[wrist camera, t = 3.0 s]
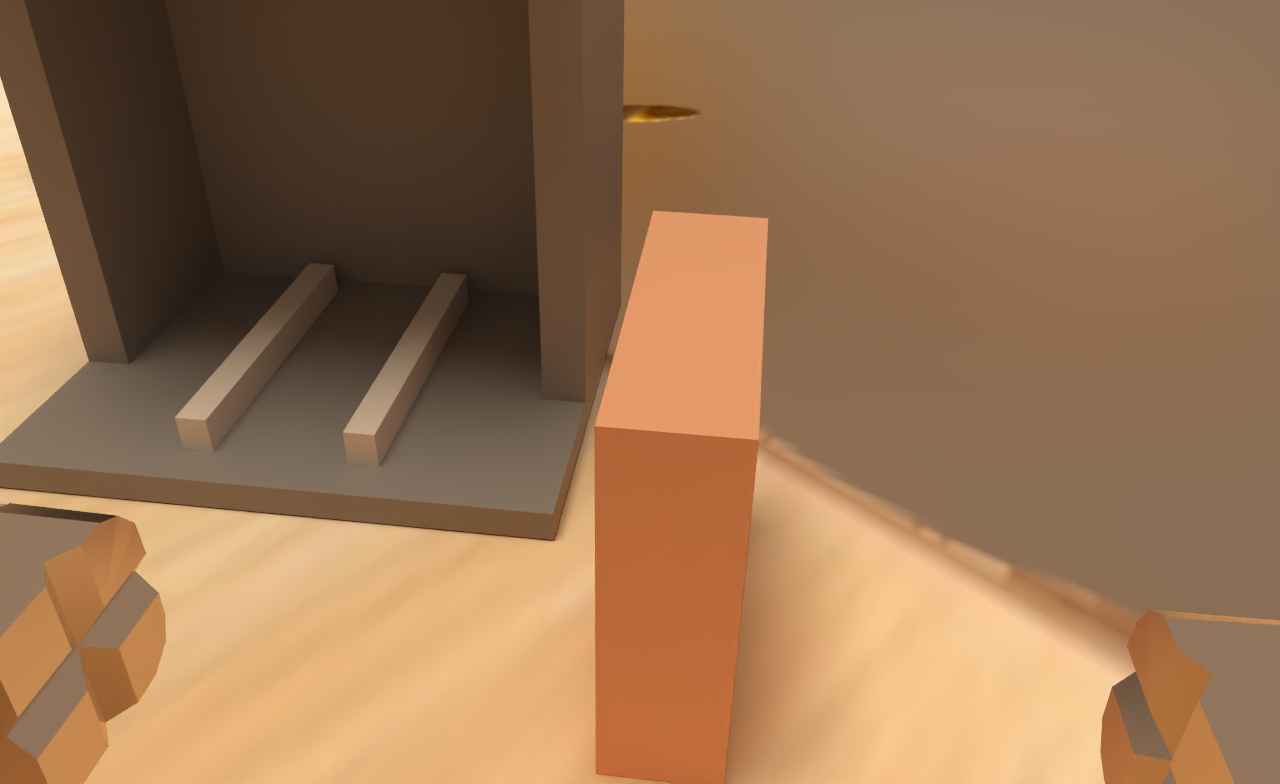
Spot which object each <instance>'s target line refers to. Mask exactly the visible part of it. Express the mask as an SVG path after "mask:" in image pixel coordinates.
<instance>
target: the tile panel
mask: <svg viewBox="0 0 1280 784" xmlns="http://www.w3.org/2000/svg"><path fill="white" fill-rule="evenodd" d="M767 231H768V219H767V218H753V217H738V216H724V215H708V214H694V213H693V214H692V213H678V212H664V211H653V215H652V218H651V222H650V226H649V229H648V233H647V236H646V240H645V244H644V248H643V251H642V255H641V258H640V262H639V266H638V269H637V273H636V277H635V280H634V284H633V288H632V291H631V295H630V299H629V302H628V306H627V310H626V313H625V317H624V321H623V325H622V328H621V332H620V335H619V339H618V343H617V346H616V350H615V353H614V357H613V361H612V364H611V368H610V372H609V375H608V379H607V383H606V386H605V390H604V394H603V397H602V401H601V405H600V408H599V412H598V416H597V419H596V423H595V652H596V774H599V775H608V776H617V777H625V778H634V779H643V780H651V781H660V782H669V783H677V784H724V778H725V769H726V759H727V749H728V739H729V729H730V719H731V709H732V699H733V689H734V680H735V670H736V660H737V650H738V640H739V630H740V620H741V610H742V600H743V590H744V581H745V571H746V561H747V551H748V541H749V531H750V521H751V511H752V501H753V492H754V482H755V472H756V462H757V452H758V442H759V421H760V397H761V373H762V350H763V326H764V302H765V278H766V255H767V253H766V252H767Z"/></svg>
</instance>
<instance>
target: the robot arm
mask: <svg viewBox="0 0 1280 784" xmlns="http://www.w3.org/2000/svg"><path fill="white" fill-rule="evenodd" d="M145 554H146V552H145V549H144V547H143V544H142V541H141V539H140V536H139V533H138V531H137V528H136V525H135V523H134V522H131V521H129V520H126V519H124V518H122V517H119V516H115V515H106V514H98V513H89V512H80V511H72V510H63V509H55V508H46V507H37V506H29V505H20V504H12V503H9V504H7V505H6V504H0V784H83V783H84V782H85V780H86V779H87V778H88V776H89V775H90V773H91V772H92V770H93V769H94V767H95V766H96V764H97V763H98V761H99V760H100V758H101V757H102V755H103V754H104V752H105V751H106V749H107V748H108V746H109V744H108V736H107V728H106V722H107V721H109V720H110V719H112V718H113V717H115V716H117V715H118V714H120V713H122V712H123V711H125V710H126V709H128V708H130V707H131V706H133V705H135V704H136V703H138V702H139V700H140V698H141V697H142V695H143V694H144V692H145V691H146V689H147V687H148V686H149V684H150V683H151V681H152V680H153V678H154V676H155V675H156V672H157V669H158V665H159V662H160V658H161V655H162V652H163V648H164V645H165V641H166V633H165V613H164V609H163V606H162V603H161V599H160V596H159V593H158V592H157V591H156V590H155V589H154V588H153V587H151V586H150V585H149V584H148V583H147V582H146V581H145V580H144V579H143V578H142V577H141V576H140V575H139V574H137V573H136V572H135V571H136V569H137V568H138V566H139V564H140V563H141V561H142V559H143V558H144V556H145ZM1127 647H1128V650H1129V653H1130V656H1131V659H1132V661H1133V664H1134V667H1135V670H1136V672H1134V673H1133V674H1131V675H1130V676H1128V677H1127V678H1125V679H1124V680H1122V681H1120V682H1119V683H1117V684H1116V685H1114V686H1113V687H1112V689H1111V692H1110V695H1109V699H1108V702H1107V705H1106V708H1105V711H1104V714H1103V718H1102V735H1101V759H1102V766H1103V774H1104V780H1105V784H1280V621H1277V620H1265V619H1253V618H1242V617H1241V618H1240V617H1230V616H1217V615H1205V614H1194V613H1182V612H1170V611H1157V610H1147V611H1146V612H1145V614H1144V615H1143V616H1142V617H1141V618H1140V619H1139V620H1138V621H1137V622H1136V625H1135V627H1134V630H1133V632H1132V635H1131V638H1130V640H1129V643H1128V645H1127Z"/></svg>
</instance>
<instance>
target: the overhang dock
mask: <svg viewBox="0 0 1280 784" xmlns="http://www.w3.org/2000/svg"><path fill="white" fill-rule="evenodd" d="M623 59H624V0H0V77H1V80H2V83H3V86H4V90H5V93H6V96H7V99H8V102H9V106H10V109H11V112H12V115H13V119H14V122H15V125H16V128H17V131H18V135H19V138H20V141H21V144H22V147H23V151H24V154H25V157H26V160H27V163H28V167H29V170H30V173H31V176H32V179H33V183H34V186H35V189H36V192H37V195H38V199H39V202H40V205H41V208H42V211H43V215H44V218H45V221H46V224H47V228H48V231H49V234H50V237H51V240H52V244H53V247H54V250H55V253H56V256H57V260H58V263H59V266H60V269H61V272H62V276H63V279H64V282H65V285H66V288H67V292H68V295H69V298H70V301H71V304H72V308H73V311H74V314H75V317H76V320H77V324H78V327H79V330H80V333H81V336H82V340H83V343H84V346H85V349H86V353H87V356H88V359H89V362H88V363H87V364H86V365H85V366H84V367H82V368H81V369H80V370H79V371H78V372H77V373H76V374H75V375H74V376H73V377H72V378H71V379H70V380H68V381H67V382H66V383H65V384H64V385H63V386H62V387H61V388H60V389H59V390H58V391H57V392H55V393H54V394H53V395H52V396H51V397H50V398H49V399H48V400H47V401H46V402H45V403H44V404H42V405H41V406H40V407H39V408H38V409H37V410H36V411H35V412H34V413H33V414H32V415H31V416H29V417H28V418H27V419H26V420H25V421H24V422H23V423H22V424H21V425H20V426H19V427H18V428H17V429H15V430H14V431H13V432H12V433H11V434H10V435H9V436H8V437H7V438H6V439H5V440H4V441H2V442H1V443H0V487H5V488H15V489H26V490H36V491H47V492H57V493H68V494H78V495H88V496H99V497H109V498H120V499H130V500H141V501H151V502H162V503H172V504H182V505H193V506H203V507H214V508H224V509H235V510H245V511H255V512H266V513H276V514H287V515H297V516H308V517H318V518H329V519H339V520H349V521H360V522H370V523H381V524H391V525H402V526H412V527H423V528H433V529H443V530H454V531H464V532H475V533H485V534H496V535H506V536H517V537H527V538H537V539H548V540H554V537H555V534H556V530H557V527H558V523H559V520H560V516H561V513H562V509H563V506H564V502H565V499H566V495H567V492H568V488H569V485H570V481H571V478H572V474H573V471H574V467H575V464H576V460H577V457H578V453H579V450H580V446H581V443H582V439H583V436H584V432H585V428H586V425H587V421H588V418H589V414H590V411H591V407H592V404H593V400H594V397H595V393H596V390H597V386H598V383H599V379H600V376H601V372H602V369H603V365H604V362H605V358H606V355H607V351H608V348H609V344H610V341H611V337H612V334H613V330H614V327H615V323H616V319H617V316H618V312H619V309H620V306H621V233H622V230H621V229H622V228H621V227H622V148H623V145H622V144H623V66H624V60H623Z"/></svg>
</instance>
